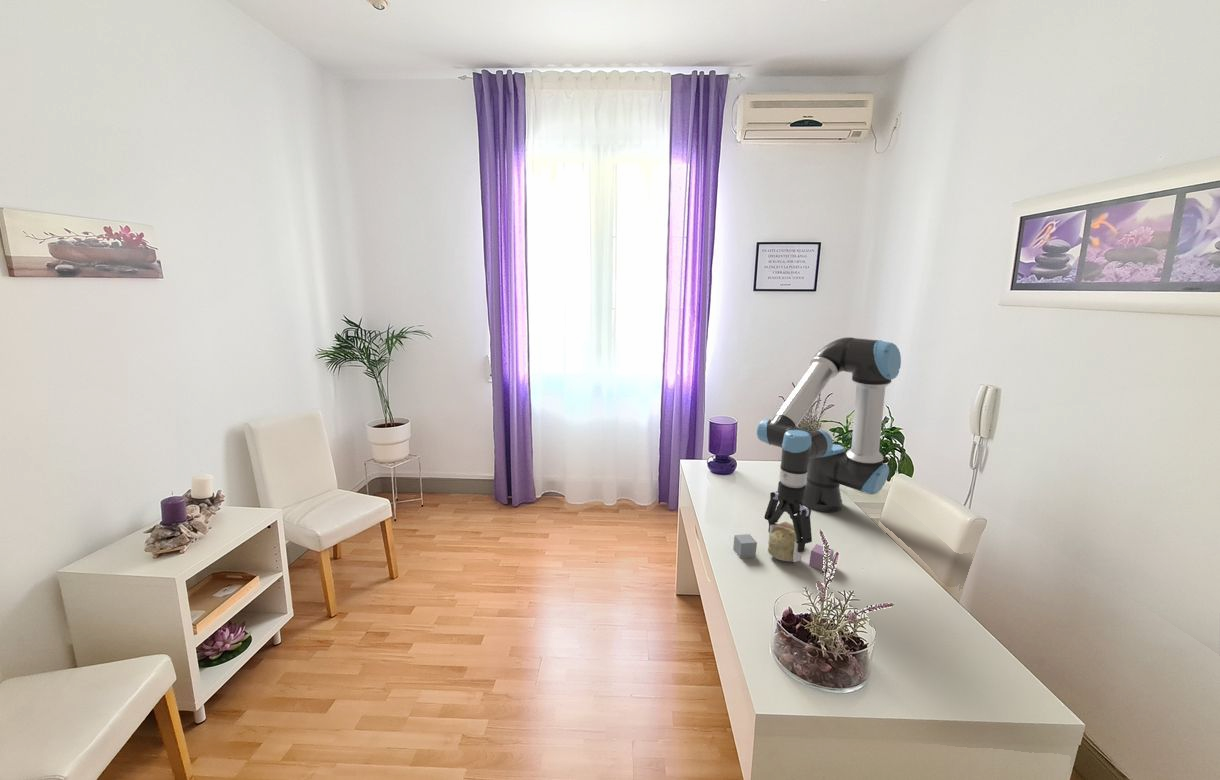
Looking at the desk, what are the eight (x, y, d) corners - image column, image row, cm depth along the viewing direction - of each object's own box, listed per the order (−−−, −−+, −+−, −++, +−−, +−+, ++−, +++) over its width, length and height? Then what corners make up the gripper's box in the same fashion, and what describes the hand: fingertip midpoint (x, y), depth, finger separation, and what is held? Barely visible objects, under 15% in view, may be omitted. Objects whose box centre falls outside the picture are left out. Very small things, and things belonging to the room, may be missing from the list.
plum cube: (814, 558, 150) (816, 544, 149) (831, 565, 147) (833, 550, 146) (809, 565, 147) (811, 550, 146) (826, 572, 144) (828, 556, 143)
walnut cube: (783, 535, 164) (785, 521, 163) (797, 541, 160) (798, 527, 159) (774, 539, 161) (776, 525, 160) (787, 546, 157) (789, 531, 156)
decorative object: (791, 574, 145) (813, 549, 143) (763, 554, 146) (785, 528, 144) (785, 559, 154) (805, 536, 152) (758, 540, 155) (779, 516, 153)
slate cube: (748, 548, 155) (749, 534, 154) (755, 557, 150) (757, 542, 149) (733, 549, 154) (734, 535, 153) (740, 558, 149) (741, 543, 148)
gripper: (756, 471, 153) (750, 536, 158) (812, 500, 133) (803, 574, 138) (774, 467, 156) (768, 532, 161) (832, 496, 136) (822, 568, 141)
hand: (784, 551), depth 150 cm, fingers closed on decorative object, 9 cm apart
